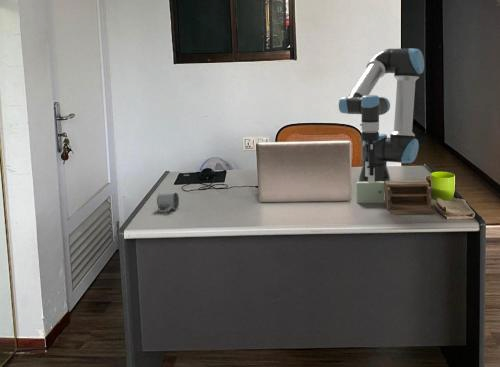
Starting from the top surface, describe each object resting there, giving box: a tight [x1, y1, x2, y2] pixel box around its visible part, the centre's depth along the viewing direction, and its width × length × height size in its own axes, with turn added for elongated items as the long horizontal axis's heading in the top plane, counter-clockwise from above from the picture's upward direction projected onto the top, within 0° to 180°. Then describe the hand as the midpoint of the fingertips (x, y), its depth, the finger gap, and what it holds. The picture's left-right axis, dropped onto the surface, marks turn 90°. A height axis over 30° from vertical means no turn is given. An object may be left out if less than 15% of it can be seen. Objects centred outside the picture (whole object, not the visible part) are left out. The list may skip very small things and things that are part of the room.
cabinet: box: [384, 179, 435, 215], centre depth 326 cm, size 18×18×10 cm
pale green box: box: [355, 181, 385, 204], centre depth 339 cm, size 4×12×9 cm, turn 87°
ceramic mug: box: [156, 191, 180, 214], centre depth 338 cm, size 11×8×8 cm
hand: (369, 179), depth 337 cm, fingers open, 13 cm apart
